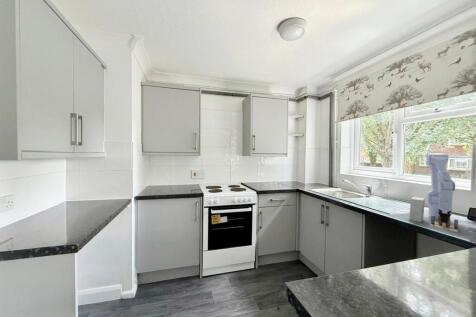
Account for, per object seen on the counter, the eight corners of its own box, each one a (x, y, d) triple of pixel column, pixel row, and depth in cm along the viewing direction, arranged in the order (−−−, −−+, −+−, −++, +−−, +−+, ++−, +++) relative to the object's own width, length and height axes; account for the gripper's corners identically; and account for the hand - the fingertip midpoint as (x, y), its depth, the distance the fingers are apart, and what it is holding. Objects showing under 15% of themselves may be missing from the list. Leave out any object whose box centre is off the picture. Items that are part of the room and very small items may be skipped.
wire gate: (431, 222, 125) (431, 215, 125) (457, 228, 117) (458, 219, 117) (430, 224, 123) (431, 216, 123) (457, 229, 115) (458, 221, 115)
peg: (438, 226, 119) (439, 221, 119) (449, 228, 116) (449, 223, 116) (438, 228, 116) (438, 223, 116) (449, 230, 113) (449, 225, 113)
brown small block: (438, 222, 127) (438, 215, 127) (449, 224, 123) (450, 217, 123) (438, 224, 123) (438, 216, 123) (449, 226, 120) (450, 218, 120)
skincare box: (411, 218, 136) (413, 196, 135) (423, 220, 131) (425, 198, 131) (408, 220, 131) (410, 198, 130) (421, 223, 126) (422, 200, 125)
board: (431, 221, 130) (431, 220, 130) (457, 226, 122) (457, 225, 122) (430, 227, 119) (430, 226, 119) (458, 233, 111) (458, 232, 111)
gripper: (436, 197, 131) (435, 218, 131) (435, 201, 121) (434, 223, 121) (452, 199, 126) (451, 221, 126) (453, 203, 116) (451, 227, 116)
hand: (444, 222), depth 123 cm, fingers open, 7 cm apart
